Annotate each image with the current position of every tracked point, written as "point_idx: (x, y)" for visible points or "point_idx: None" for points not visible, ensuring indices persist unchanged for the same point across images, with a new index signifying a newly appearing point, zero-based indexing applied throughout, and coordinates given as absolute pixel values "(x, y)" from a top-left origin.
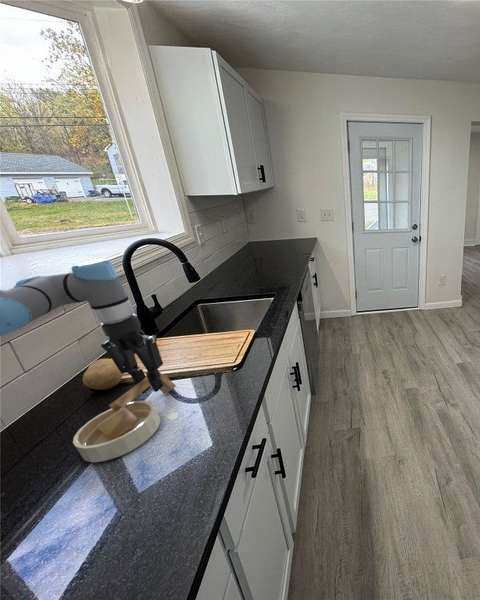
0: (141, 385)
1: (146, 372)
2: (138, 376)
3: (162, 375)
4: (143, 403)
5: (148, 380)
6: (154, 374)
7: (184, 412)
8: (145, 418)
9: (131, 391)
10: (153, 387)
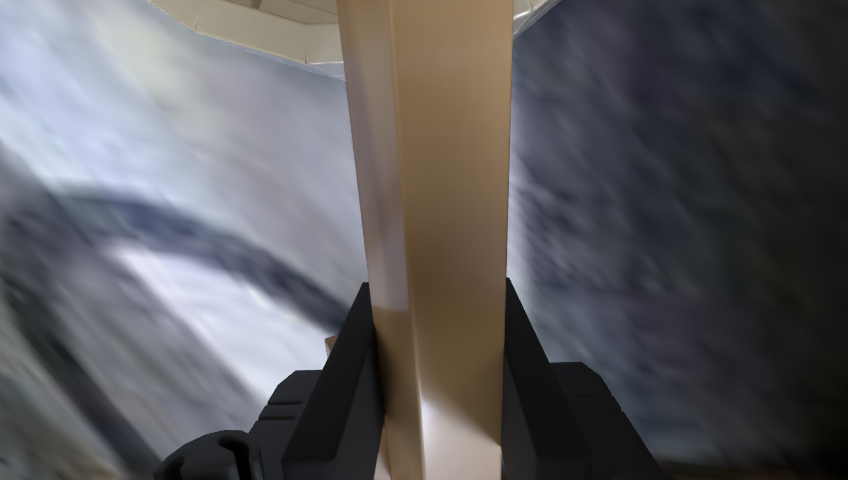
0: (387, 255)
1: (250, 467)
2: (519, 432)
3: (390, 476)
4: (262, 11)
5: (398, 372)
6: (261, 443)
7: (76, 84)
8: (329, 10)
9: (375, 46)
10: (369, 304)
